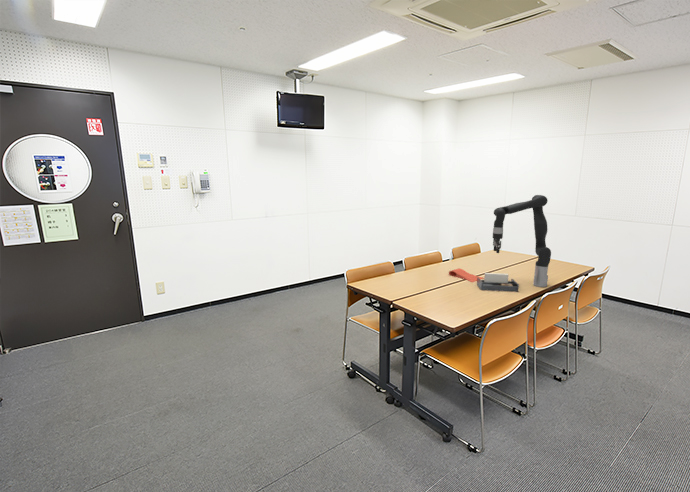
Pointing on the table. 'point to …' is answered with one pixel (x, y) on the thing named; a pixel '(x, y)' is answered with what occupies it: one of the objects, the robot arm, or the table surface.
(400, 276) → the table surface
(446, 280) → the table surface
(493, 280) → the white flat board
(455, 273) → the sheet
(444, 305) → the table surface
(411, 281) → the table surface
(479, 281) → the rack
